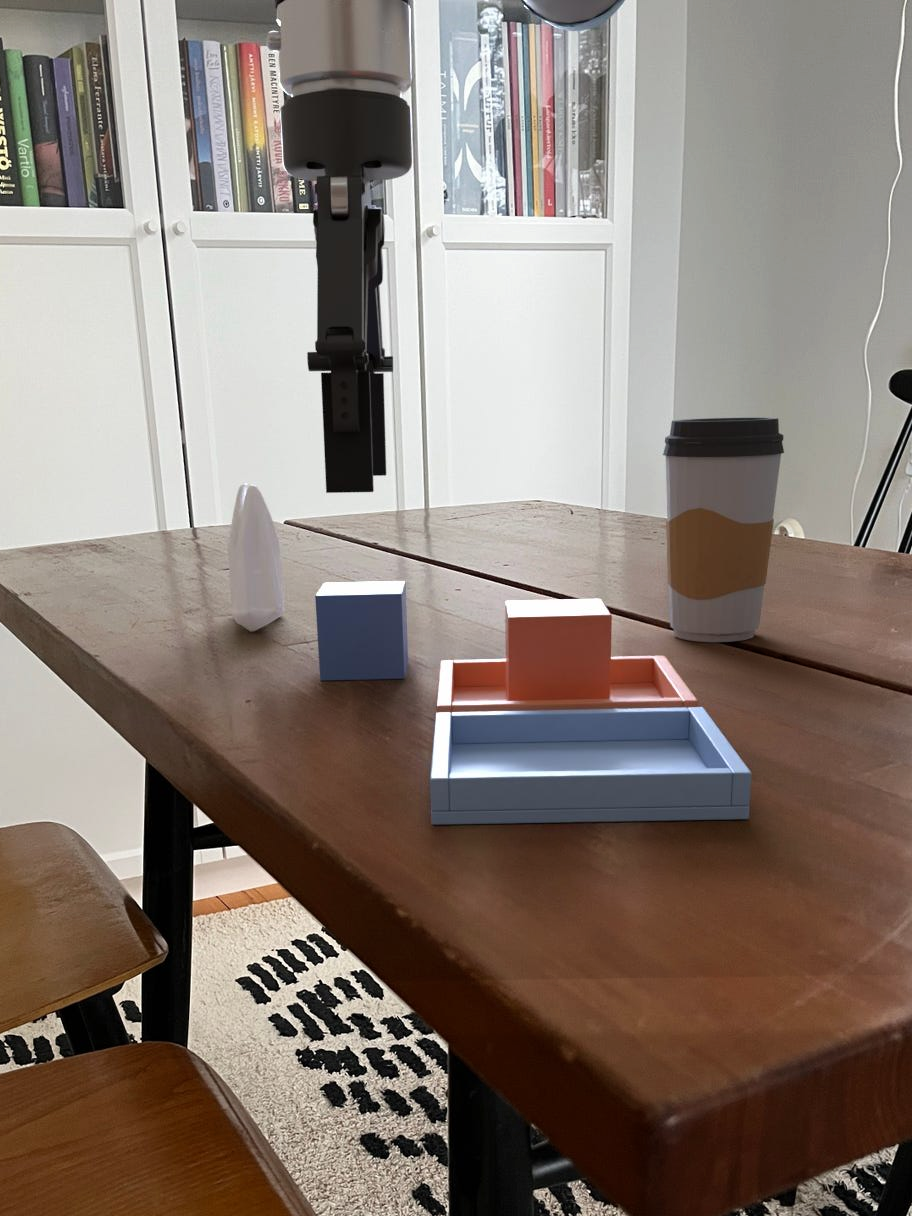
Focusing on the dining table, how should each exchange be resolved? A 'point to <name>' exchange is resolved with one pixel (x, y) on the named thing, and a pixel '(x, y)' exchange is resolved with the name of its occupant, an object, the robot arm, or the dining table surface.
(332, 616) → the blue block
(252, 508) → the white pointed piece
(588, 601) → the terracotta block
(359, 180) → the robot arm
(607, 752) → the blue tray
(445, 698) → the terracotta tray
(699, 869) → the dining table surface
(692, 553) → the coffee cup
